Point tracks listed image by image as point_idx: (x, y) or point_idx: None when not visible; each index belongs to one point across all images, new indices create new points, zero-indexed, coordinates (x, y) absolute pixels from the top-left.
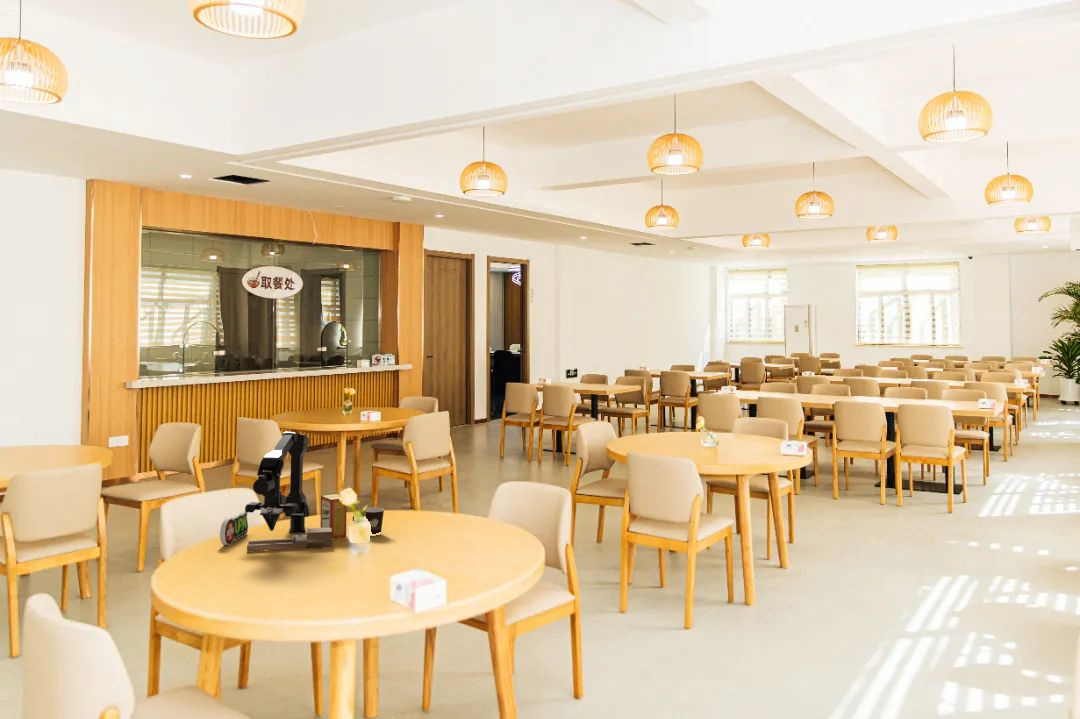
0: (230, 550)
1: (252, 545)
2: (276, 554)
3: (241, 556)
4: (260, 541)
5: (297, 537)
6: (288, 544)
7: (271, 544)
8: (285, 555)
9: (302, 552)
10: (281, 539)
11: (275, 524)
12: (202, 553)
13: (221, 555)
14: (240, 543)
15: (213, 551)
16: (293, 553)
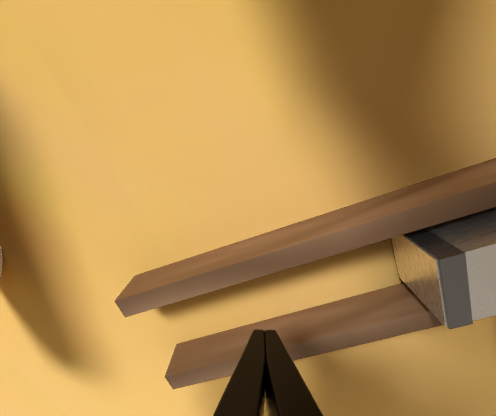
0: (87, 336)
1: (199, 381)
2: (341, 373)
3: (197, 406)
4: (192, 294)
5: (486, 316)
6: (398, 328)
7: (299, 358)
8: (390, 383)
9: (469, 336)
10: (323, 249)
11: (302, 379)
12: (7, 383)
13: (106, 400)
14: (33, 206)
15: (25, 356)
16: (423, 354)
